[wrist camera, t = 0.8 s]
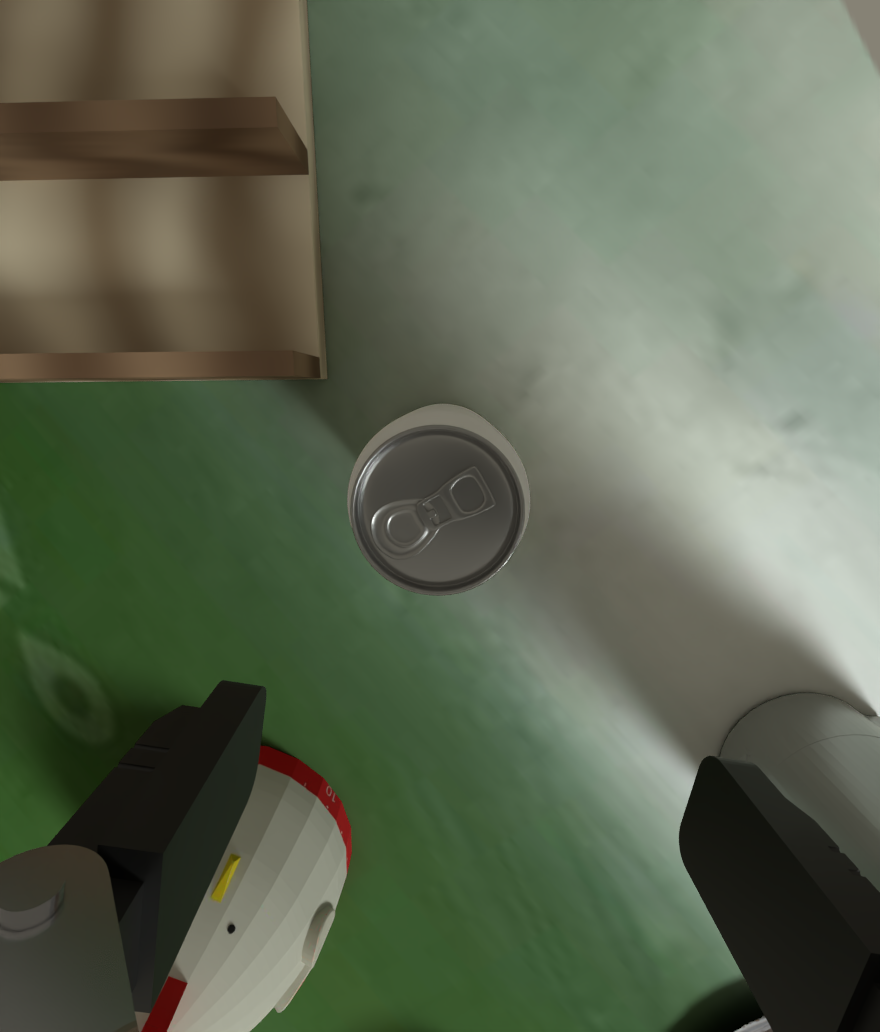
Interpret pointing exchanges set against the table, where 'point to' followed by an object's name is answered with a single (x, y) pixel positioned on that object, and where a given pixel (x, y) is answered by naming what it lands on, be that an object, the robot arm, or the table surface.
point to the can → (438, 500)
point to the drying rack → (158, 192)
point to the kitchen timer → (261, 906)
